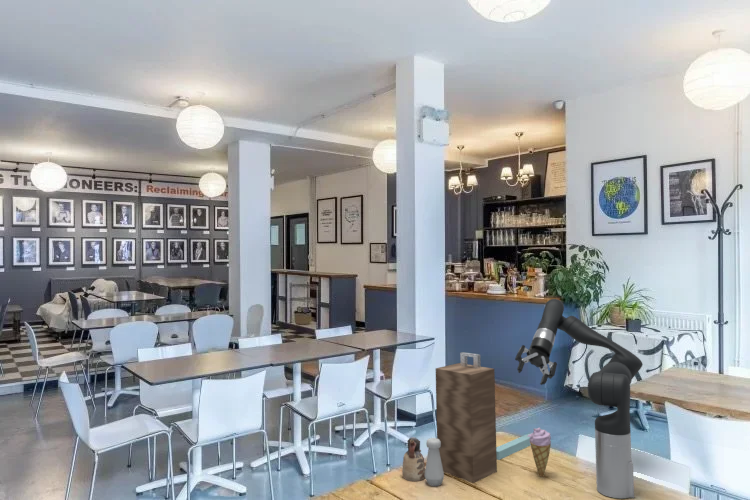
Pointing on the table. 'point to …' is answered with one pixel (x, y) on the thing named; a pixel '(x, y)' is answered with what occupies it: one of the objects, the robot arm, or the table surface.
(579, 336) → the robot arm
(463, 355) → the arch
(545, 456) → the ice cream cone
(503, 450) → the peg
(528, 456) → the table surface
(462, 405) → the plinth
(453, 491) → the table surface
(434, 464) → the salt shaker
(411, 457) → the figurine
